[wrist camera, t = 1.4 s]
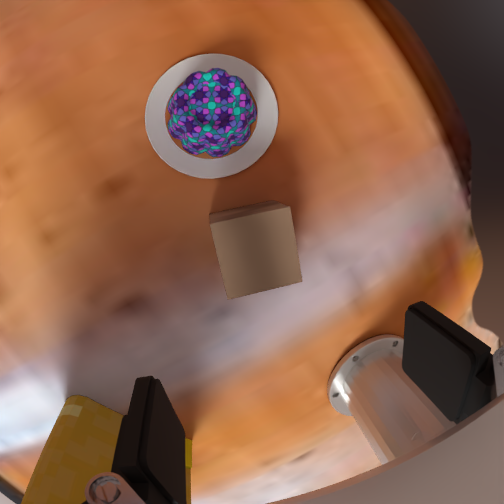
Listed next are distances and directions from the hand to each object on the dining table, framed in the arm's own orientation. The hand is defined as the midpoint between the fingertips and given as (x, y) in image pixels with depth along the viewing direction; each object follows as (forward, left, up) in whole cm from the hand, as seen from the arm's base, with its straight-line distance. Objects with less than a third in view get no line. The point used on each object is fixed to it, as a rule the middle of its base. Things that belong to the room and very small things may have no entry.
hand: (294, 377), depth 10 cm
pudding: (0, -13, -20) cm, 24 cm away
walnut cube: (-1, -1, -20) cm, 20 cm away
